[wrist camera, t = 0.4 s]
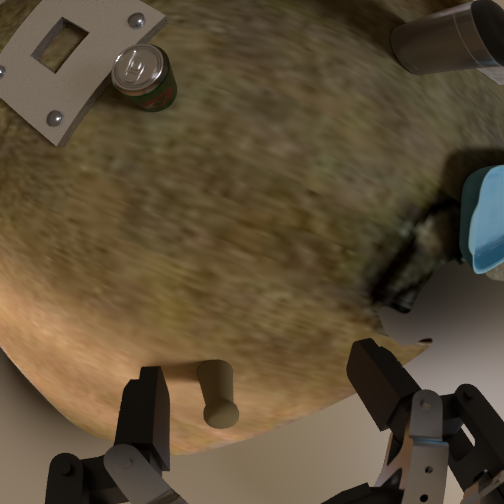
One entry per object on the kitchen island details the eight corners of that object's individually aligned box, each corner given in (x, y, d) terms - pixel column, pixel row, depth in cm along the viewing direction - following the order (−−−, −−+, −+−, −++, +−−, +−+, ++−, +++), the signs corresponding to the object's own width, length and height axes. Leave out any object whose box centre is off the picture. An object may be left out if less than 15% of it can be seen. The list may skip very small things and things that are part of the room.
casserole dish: (441, 273, 47) (464, 289, 41) (445, 163, 39) (474, 170, 32) (514, 234, 51) (532, 242, 44) (518, 155, 42) (538, 160, 36)
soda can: (185, 82, 28) (179, 49, 17) (165, 118, 29) (149, 103, 18) (148, 69, 26) (127, 33, 15) (129, 104, 28) (96, 85, 17)
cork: (214, 388, 45) (221, 437, 35) (189, 372, 43) (192, 424, 33) (240, 371, 45) (252, 421, 35) (215, 353, 42) (223, 406, 32)
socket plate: (78, -23, 17) (71, -32, 14) (167, 23, 24) (165, 13, 21) (-8, 83, 20) (-19, 81, 17) (65, 146, 27) (54, 146, 25)
